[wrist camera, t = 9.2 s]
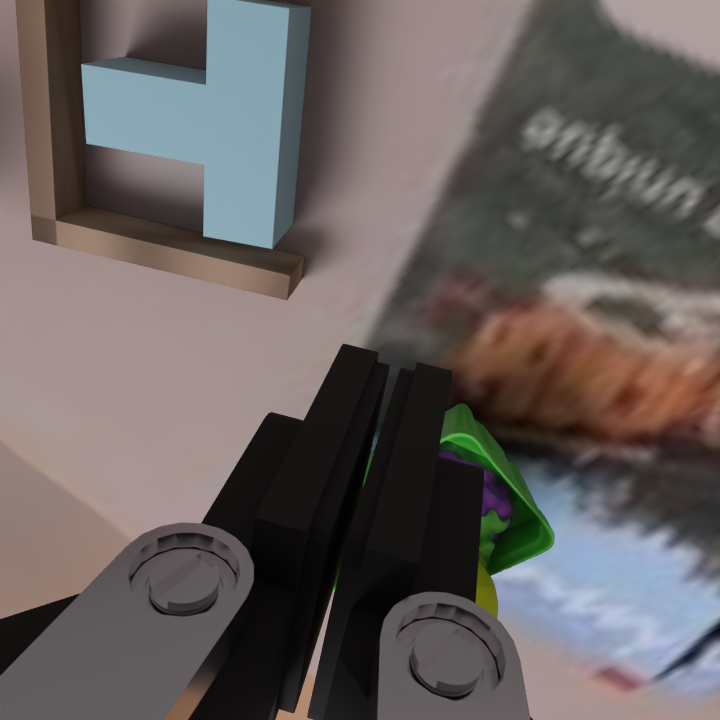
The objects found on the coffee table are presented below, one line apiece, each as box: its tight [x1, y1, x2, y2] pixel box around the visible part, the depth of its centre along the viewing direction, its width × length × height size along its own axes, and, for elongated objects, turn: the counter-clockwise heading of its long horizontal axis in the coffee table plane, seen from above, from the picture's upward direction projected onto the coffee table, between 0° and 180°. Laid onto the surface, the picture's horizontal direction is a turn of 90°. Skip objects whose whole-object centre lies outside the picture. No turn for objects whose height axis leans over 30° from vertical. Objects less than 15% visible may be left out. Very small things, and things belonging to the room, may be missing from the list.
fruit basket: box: [333, 403, 554, 619], centre depth 32 cm, size 11×9×11 cm
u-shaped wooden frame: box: [16, 0, 305, 300], centre depth 28 cm, size 12×14×2 cm
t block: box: [81, 0, 312, 249], centre depth 28 cm, size 8×9×4 cm
